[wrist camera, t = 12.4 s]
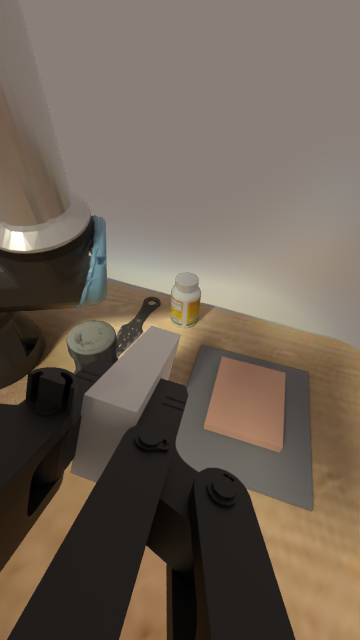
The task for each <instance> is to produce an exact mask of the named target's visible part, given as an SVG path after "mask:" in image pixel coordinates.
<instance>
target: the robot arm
mask: <svg viewBox="0 0 360 640" xmlns="http://www.w3.org/2000/svg"><path fill="white" fill-rule="evenodd" d="M106 272H107V271H106V223H105V220H104V219H103V218H101V217H97V216H91V214H90V210H89V207H88V204H87V202H86V201H85V200H84V199H83V198H82V197H81V196H80V195H78V194H77V193H75V192H73V191H71V190H70V187H69V183H68V180H67V177H66V172H65V168H64V164H63V161H62V157H61V153H60V150H59V146H58V142H57V139H56V135H55V131H54V127H53V124H52V120H51V116H50V112H49V109H48V105H47V101H46V97H45V94H44V90H43V86H42V83H41V79H40V76H39V71H38V68H37V64H36V60H35V56H34V53H33V49H32V46H31V42H30V38H29V34H28V30H27V27H26V23H25V19H24V15H23V12H22V8H21V5H20V1H19V0H0V389H1V388H3V387H6V386H8V385H10V384H12V383H14V382H15V381H17V380H19V379H20V378H22V377H23V376H24V375H26V374H27V373H28V372H29V371H30V370H31V369H32V368H33V367H34V366H35V365H36V364H37V362H38V361H39V359H40V358H41V356H42V353H43V351H44V338H43V336H42V333H41V331H40V329H39V327H38V326H37V324H36V323H35V322H34V321H32V320H31V319H30V318H29V317H28V316H27V315H26V314H25V313H24V312H23V311H33V310H47V309H62V308H80V307H81V306H87V305H93V304H99V303H101V302H102V301H103V300H104V299H105V298H106V295H107V273H106ZM180 336H181V335H180V334H176V333H173V332H170V331H166V330H163V329H160V328H157V327H153V326H151V327H150V328H149V329H148V330H147V331H146V332H145V333H144V334H143V335H142V336H141V337H140V338H139V339H138V340H137V341H136V342H135V343H134V344H133V345H132V346H131V347H130V348H129V349H128V350H127V351H126V352H125V353H124V355H123V356H122V357H121V358H120V359H119V360H118V361H117V362H116V363H115V364H113V363H110V362H106V361H103V360H97V361H94V362H91V363H88V364H87V365H86V366H85V367H83V368H82V369H81V371H79V372H77V373H76V374H75V375H74V374H73V373H72V372H70V371H68V370H66V369H61V368H51V367H46V368H40V369H36V370H33V371H31V372H29V373H28V381H27V391H26V399H25V400H24V401H23V402H21V403H20V404H19V405H9V404H0V572H1V570H2V569H3V568H4V566H5V565H6V563H7V562H8V560H9V559H10V558H11V556H12V555H13V553H14V552H15V551H16V549H17V548H18V546H19V545H20V543H21V542H22V541H23V539H24V538H25V536H26V535H27V533H28V532H29V531H30V529H31V528H32V526H33V525H34V524H35V522H36V521H37V519H38V518H39V516H40V515H41V514H42V512H43V511H44V509H45V508H46V506H47V505H48V504H49V502H50V501H51V499H52V498H53V497H54V495H55V494H56V492H57V491H58V489H59V488H60V485H61V483H62V480H63V474H64V470H65V469H66V468H67V466H68V465H69V464H70V462H71V461H72V460H73V462H72V468H71V473H73V474H75V475H78V476H81V477H83V478H86V479H89V480H92V481H94V482H97V483H96V485H95V486H94V488H93V490H92V492H91V493H90V495H89V497H88V499H87V500H86V502H85V504H84V506H83V507H82V509H81V511H80V513H79V514H78V516H77V518H76V520H75V521H74V523H73V525H72V527H71V528H70V530H69V532H68V534H67V535H66V537H65V539H64V541H63V542H62V544H61V546H60V548H59V549H58V551H57V553H56V555H55V556H54V558H53V560H52V562H51V563H50V565H49V567H48V569H47V570H46V572H45V574H44V576H43V578H42V579H41V581H40V583H39V585H38V586H37V588H36V590H35V592H34V593H33V595H32V597H31V599H30V600H29V602H28V604H27V606H26V607H25V609H24V611H23V613H22V614H21V616H20V618H19V620H18V621H17V623H16V625H15V627H14V628H13V630H12V632H11V634H10V635H9V637H8V639H7V640H119V637H120V634H121V630H122V627H123V623H124V620H125V616H126V613H127V609H128V606H129V602H130V599H131V595H132V592H133V588H134V585H135V582H136V578H137V575H138V571H139V568H140V564H141V561H142V557H143V554H144V550H145V547H146V546H148V547H149V548H150V549H151V550H152V551H153V552H154V553H155V554H157V555H158V556H159V557H160V558H161V559H162V560H163V561H164V562H166V563H167V566H166V576H167V640H295V637H294V634H293V630H292V627H291V624H290V621H289V618H288V615H287V612H286V608H285V605H284V602H283V599H282V596H281V593H280V589H279V586H278V583H277V580H276V577H275V574H274V571H273V567H272V564H271V561H270V558H269V555H268V552H267V549H266V545H265V542H264V539H263V536H262V533H261V530H260V527H259V523H258V520H257V517H256V514H255V511H254V508H253V505H252V501H251V498H250V495H249V493H248V491H247V489H246V487H245V486H244V484H243V483H242V482H241V481H240V480H239V479H238V478H237V477H236V476H234V475H233V474H231V473H230V472H228V471H226V470H223V469H220V468H206V469H204V470H202V471H200V472H198V471H196V470H195V469H193V468H192V467H191V466H189V465H188V464H187V463H186V462H185V461H184V460H183V459H182V458H181V457H180V455H179V453H178V451H177V449H176V437H177V434H178V430H179V427H180V423H181V420H182V416H183V413H184V409H185V406H186V402H187V399H188V392H187V389H186V386H183V385H180V384H177V383H174V382H171V381H168V380H169V376H170V372H171V369H172V365H173V361H174V358H175V354H176V350H177V347H178V343H179V339H180Z"/></svg>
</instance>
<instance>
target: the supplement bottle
mask: <svg viewBox="0 0 360 640" xmlns="http://www.w3.org/2000/svg"><path fill="white" fill-rule="evenodd" d="M198 281H199V280H198V277H197V276H196V275H194V274H192V273H181V274H179V275H178V276H177V277H176V282H175V285H174V287H173V288H172V291H171V321H172V323H173V324H174V325H175V326H177V327H180V328H189V327H192V326H194V325H195V324H196V323H197V320H198V314H199V305H200V297H201V291H200V288H199V287H198Z"/></svg>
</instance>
